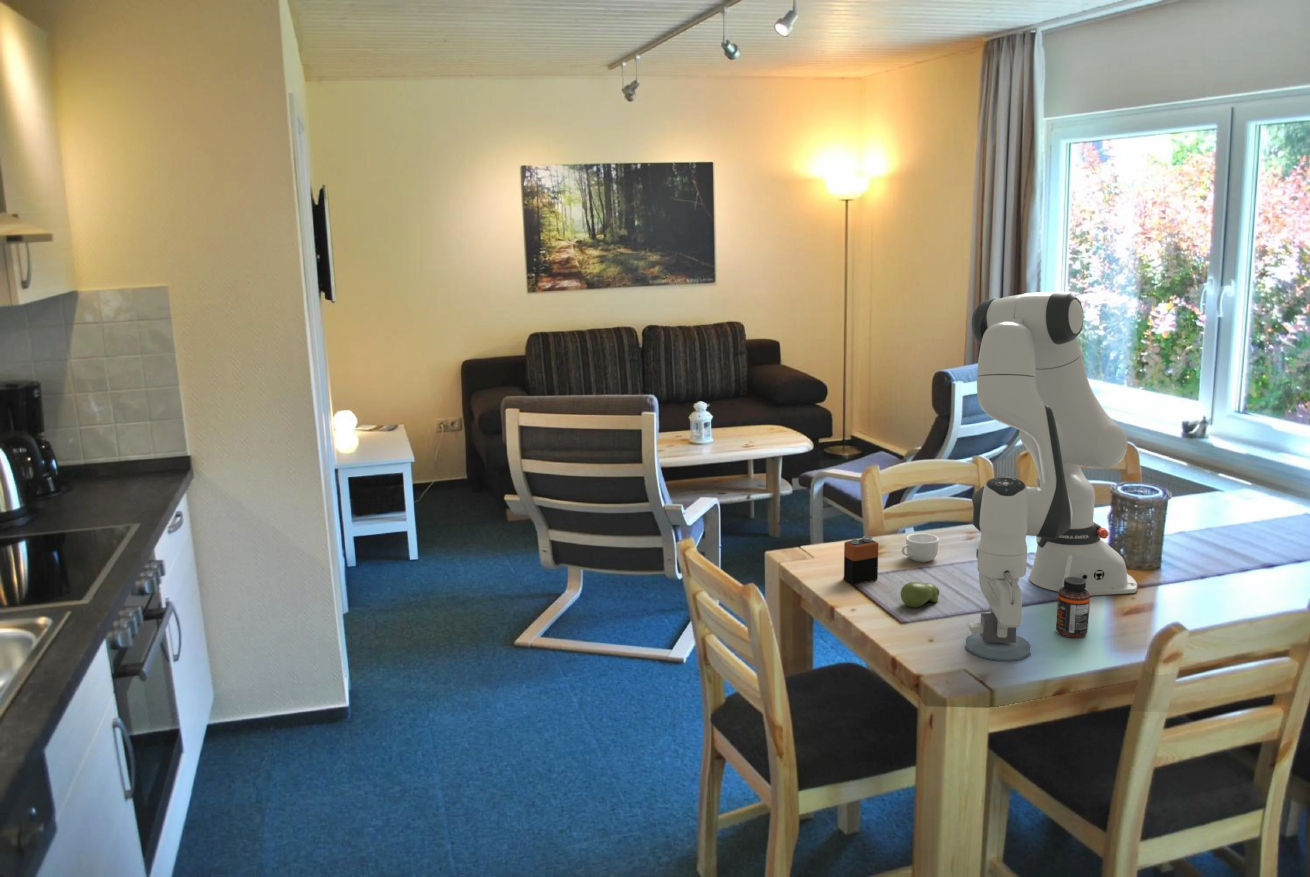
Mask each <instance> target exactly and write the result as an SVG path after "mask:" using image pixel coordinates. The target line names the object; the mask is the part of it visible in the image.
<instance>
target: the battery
mask: <svg viewBox="0 0 1310 877" xmlns="http://www.w3.org/2000/svg"><path fill="white" fill-rule="evenodd" d="M843 547H844V548H843V550H844V551H843V557H844V558H843V579H844V580H846V581H847V582H849V583H851V584H853V585H854V584H855V583H857V584H862V583H866V582H865V581H868V582H871V581H870V580H873V581H877V580H878V578H879V577H878V575H879V572H878V571H879V542H878V541H876V540H874V539H873V537H872V536H870V535H863V536H862V538H860V539H858V538H857V539H856V538H853V539H851V540H848V541H847V540H846V541H845V542H844V546H843ZM861 582H862V583H861ZM855 585H856V584H855Z"/></svg>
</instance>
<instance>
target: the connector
mask: <svg viewBox="0 0 1310 877" xmlns="http://www.w3.org/2000/svg"><path fill="white" fill-rule="evenodd" d="M997 623H998V620H997V618H996V616H995V614H994V613H990V612H989V613H988V612H981V613H980V622H969V623H968V631H969V632H970V634H973V633H980V636H981V638H982V640H983V642H1009V643H1016V635H1017V628H1009V627H1008V629H1007V637H1005V638H1004V637H998V636H997V634H996V626H997Z"/></svg>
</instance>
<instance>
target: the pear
mask: <svg viewBox="0 0 1310 877" xmlns="http://www.w3.org/2000/svg"><path fill="white" fill-rule="evenodd" d="M939 595H940V589H939V588H938V587H937V586H936V585H934V584H932V583H931V582H929V583H928V582H921V581H912V582H911V581H910V582H908V583H906V584H904V585H903V586H902V588H901V591H900V599H901V601H902V603H903V604H904V605H906V606H907V607H910V608H919V607H921V606H923V605H925V604H926V603H928V601H929V602H932V603H937V602H938V601H939Z"/></svg>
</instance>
